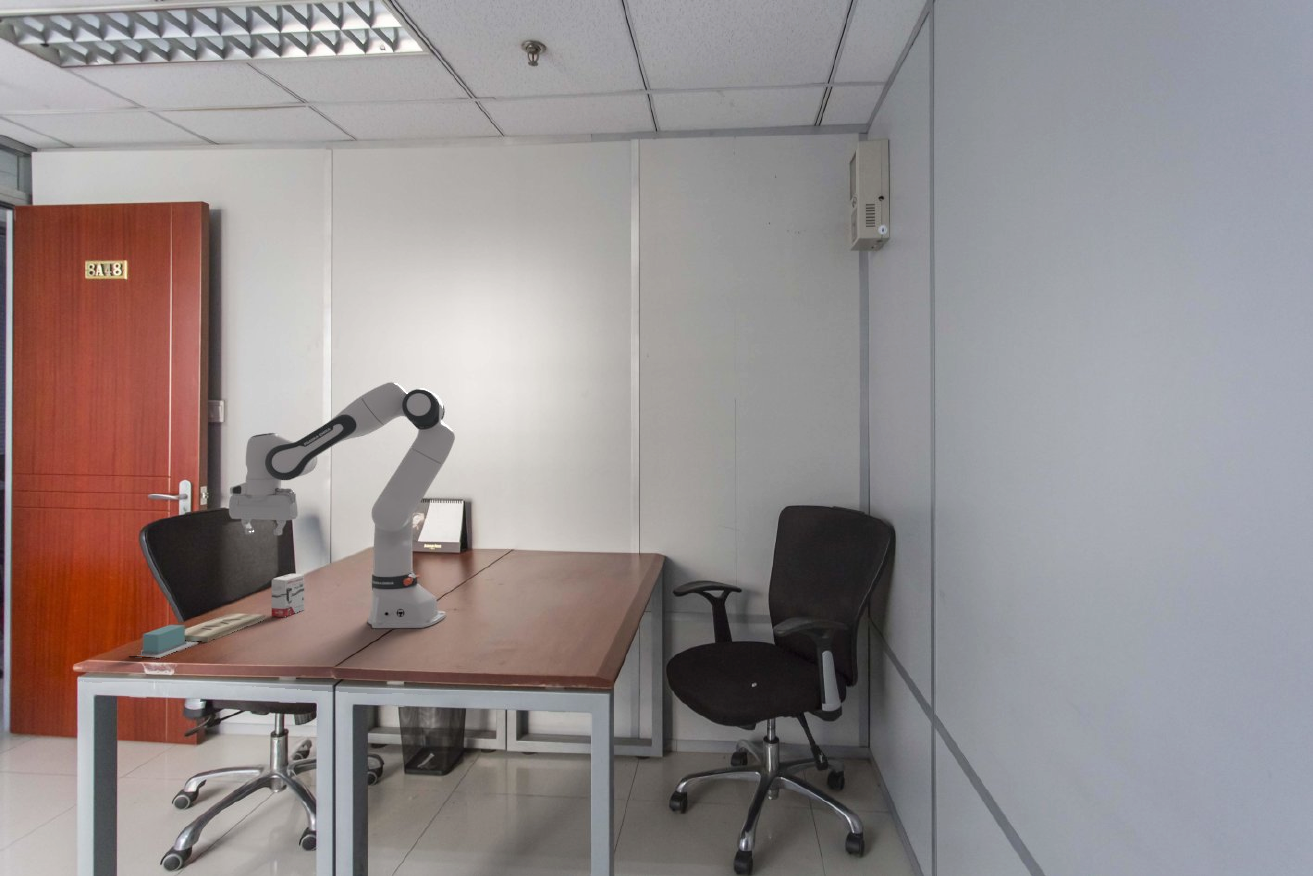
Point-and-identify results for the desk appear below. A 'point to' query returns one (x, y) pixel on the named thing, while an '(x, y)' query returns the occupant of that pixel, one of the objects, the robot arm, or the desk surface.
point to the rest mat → (188, 644)
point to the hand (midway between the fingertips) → (263, 534)
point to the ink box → (288, 594)
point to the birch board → (221, 626)
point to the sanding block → (163, 639)
